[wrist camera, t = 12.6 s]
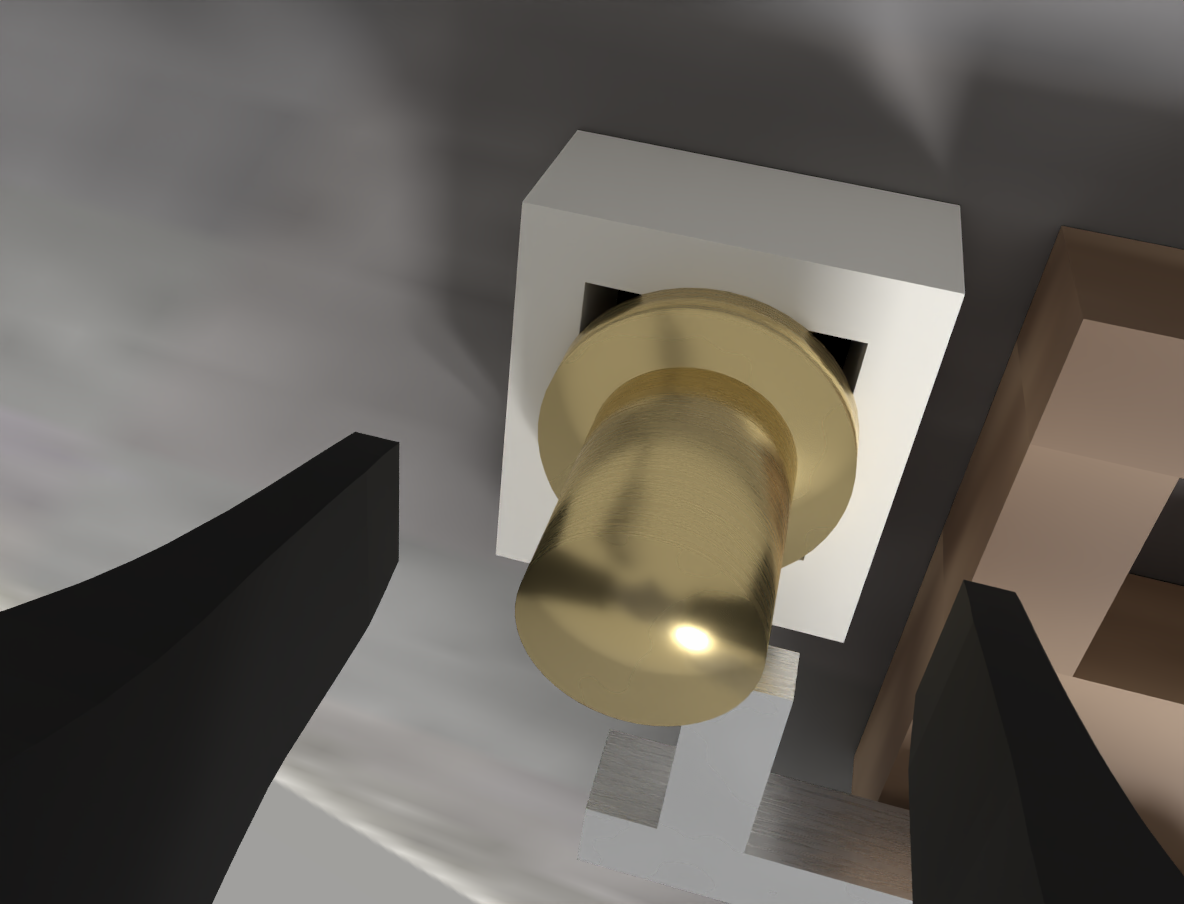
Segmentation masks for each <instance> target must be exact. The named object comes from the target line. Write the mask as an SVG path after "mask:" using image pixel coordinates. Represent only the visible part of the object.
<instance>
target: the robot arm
mask: <svg viewBox="0 0 1184 904" xmlns="http://www.w3.org/2000/svg"><path fill="white" fill-rule="evenodd" d="M398 561H399V442H395V441H391V440H387V439H383V438H379V437H374V436H370V435H366V434H362V433H358V432H354V433H353V434H351V435H349V436H348V437H346V438H344V439H343V440H341V441H339V442H338V443H336V444H335V445H333V446H331V447H330V448H328V449H327V450H325V451H323V452H322V453H320V454H319V455H317V456H315V457H314V458H312V459H311V460H309V461H308V462H306V463H304V464H303V465H301V466H300V467H298V468H297V469H295V470H293V471H292V472H290V473H289V474H287V475H286V476H284V477H282V478H281V479H279V480H278V481H276V482H274V483H273V484H271V485H270V486H268V487H266V488H265V489H263V490H261V491H260V492H258V493H256V494H255V495H253V496H251V497H250V498H248V499H246V500H245V501H243V502H241V503H240V504H238V505H237V506H235V507H233V508H232V509H230V510H228V511H226V512H225V513H223V514H221V515H219V516H217V517H215V518H214V519H212V520H210V521H208V522H206V523H204V524H203V525H201V526H199V527H197V528H195V529H193V530H192V531H190V532H188V533H186V534H184V535H182V536H181V537H179V538H177V539H175V540H173V541H171V542H170V543H168V544H166V545H164V546H162V547H160V548H158V549H156V550H154V551H152V552H149V553H147V554H145V555H143V556H141V557H139V558H137V559H135V560H132V561H130V562H128V563H126V564H123V565H121V566H119V567H117V568H114V569H112V570H110V571H107V572H105V573H103V574H101V575H98V576H96V577H94V578H91V579H89V580H86V581H84V582H81V583H79V584H76V585H73V586H71V587H68V588H65V589H62V590H60V591H57V592H54V593H51V594H49V595H46V596H43V597H40V598H38V599H35V600H32V601H29V602H27V603H24V604H21V605H18V606H16V607H13V608H10V609H7V610H4V611H1V612H0V904H212V903H213V900H214V898H215V896H216V894H217V892H218V890H219V888H220V885H221V883H222V881H223V879H224V877H225V875H226V873H227V871H228V869H229V866H230V864H231V862H232V860H233V858H234V856H235V854H236V852H237V849H238V847H239V845H240V843H241V841H242V839H243V837H244V835H245V833H246V831H247V829H248V827H249V825H250V823H251V821H252V819H253V817H254V815H255V813H256V811H257V809H258V807H259V805H260V803H261V801H262V799H263V797H264V795H265V793H266V791H267V789H268V787H269V785H270V783H271V782H272V780H273V778H274V777H275V775H276V773H277V772H278V770H279V768H280V766H281V765H282V763H283V761H284V759H285V758H286V756H287V754H288V753H289V751H290V750H291V748H292V747H293V745H294V743H295V742H296V740H297V739H298V737H299V736H300V734H301V732H302V731H303V729H304V728H305V726H306V725H307V723H308V721H309V720H310V718H311V717H312V715H313V714H314V712H315V710H316V709H317V707H318V706H319V704H320V703H321V701H322V699H323V698H324V696H325V695H326V693H327V692H328V690H329V689H330V687H331V685H332V684H333V682H334V681H335V679H336V678H337V676H338V674H339V673H340V671H341V670H342V668H343V666H344V665H345V663H346V662H347V660H348V658H349V657H350V655H351V654H352V652H353V650H354V649H355V647H356V646H357V644H358V642H359V641H360V639H361V638H362V636H363V634H364V633H365V631H366V629H367V628H368V626H369V624H370V622H371V620H372V618H373V616H374V614H375V612H376V610H377V607H378V605H379V603H380V601H381V599H382V597H383V595H384V592H385V590H386V588H387V586H388V583H389V581H390V579H391V577H392V574H393V572H394V570H395V568H396V565H397V563H398ZM908 779H909V815H910V845H911V872H912V899H913V904H1184V876H1183V874H1182V873H1181V872H1180V870H1179V869H1178V868H1177V866H1176V865H1175V864H1174V862H1173V861H1172V860H1171V858H1170V857H1169V856H1168V854H1167V853H1166V852H1165V850H1164V849H1163V848H1162V846H1161V845H1160V844H1159V842H1158V841H1157V840H1156V838H1155V837H1154V836H1153V834H1152V833H1151V832H1150V830H1149V829H1148V827H1147V826H1146V824H1145V823H1144V822H1143V820H1142V819H1141V817H1140V816H1139V814H1138V813H1137V811H1136V810H1135V808H1134V807H1133V805H1132V804H1131V802H1130V800H1129V799H1128V797H1127V796H1126V794H1125V793H1124V791H1123V789H1122V788H1121V786H1120V785H1119V783H1118V782H1117V780H1116V778H1115V777H1114V775H1113V774H1112V772H1111V770H1110V769H1109V767H1108V765H1107V764H1106V762H1105V760H1104V759H1103V757H1102V755H1101V754H1100V752H1099V750H1098V749H1097V747H1096V745H1095V744H1094V742H1093V740H1092V738H1091V736H1090V735H1089V733H1088V731H1087V729H1086V728H1085V726H1084V724H1083V722H1082V720H1081V719H1080V717H1079V715H1078V713H1077V711H1076V710H1075V708H1074V706H1073V704H1072V703H1071V701H1070V699H1069V697H1068V695H1067V693H1066V691H1065V689H1064V688H1063V686H1062V684H1061V682H1060V680H1059V678H1058V676H1057V674H1056V672H1055V670H1054V668H1053V666H1052V664H1051V662H1050V660H1049V658H1048V656H1047V654H1046V652H1045V650H1044V648H1043V646H1042V644H1041V642H1040V640H1039V638H1038V636H1037V634H1036V632H1035V630H1034V628H1033V625H1032V623H1031V621H1030V619H1029V617H1028V615H1027V613H1026V611H1025V609H1024V607H1023V605H1022V603H1021V601H1020V599H1019V597H1018V596H1017V594H1016V592H1013V591H1009V590H1005V589H1001V588H997V587H992V586H988V585H984V584H980V583H976V582H972V581H968V580H963V582H962V584H961V587H960V589H959V592H958V594H957V596H956V599H955V601H954V603H953V606H952V608H951V611H950V613H949V615H948V618H947V620H946V623H945V625H944V627H943V630H942V632H941V634H940V637H939V639H938V642H937V644H936V646H935V649H934V651H933V654H932V656H931V658H930V661H929V663H928V665H927V668H926V670H925V673H924V675H923V677H922V680H921V682H920V684H919V687H918V689H917V692H916V694H915V703H914V713H913V723H912V732H911V743H910V755H909V767H908Z"/></svg>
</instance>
